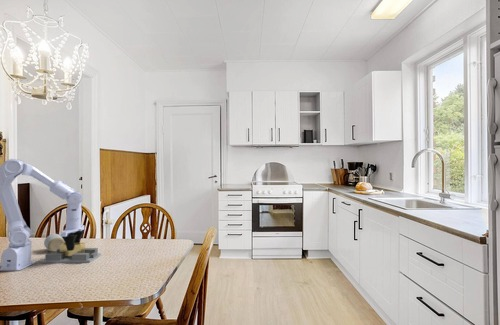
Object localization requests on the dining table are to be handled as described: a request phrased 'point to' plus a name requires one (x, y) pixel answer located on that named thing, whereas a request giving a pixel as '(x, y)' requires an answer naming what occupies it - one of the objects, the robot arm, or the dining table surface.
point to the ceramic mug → (53, 242)
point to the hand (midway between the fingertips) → (72, 249)
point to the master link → (77, 248)
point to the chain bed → (68, 260)
